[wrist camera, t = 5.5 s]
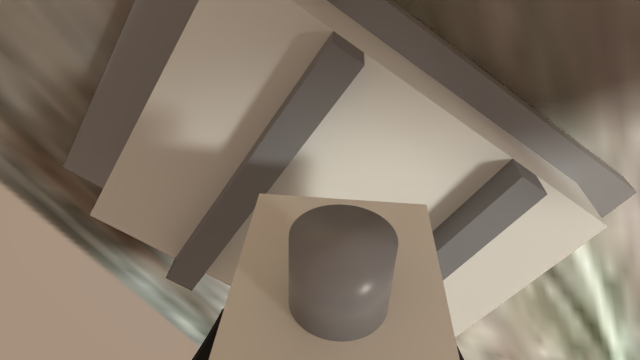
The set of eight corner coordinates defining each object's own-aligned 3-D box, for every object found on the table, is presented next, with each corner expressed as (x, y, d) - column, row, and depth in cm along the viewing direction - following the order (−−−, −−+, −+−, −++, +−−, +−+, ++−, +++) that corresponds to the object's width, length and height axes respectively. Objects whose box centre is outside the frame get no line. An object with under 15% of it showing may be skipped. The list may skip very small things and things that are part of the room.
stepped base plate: (623, 177, 18) (694, 257, 14) (417, 337, 24) (428, 424, 20) (206, -142, 13) (147, -148, 9) (75, 154, 19) (6, 223, 15)
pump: (437, 149, 10) (492, 335, 6) (395, 362, 14) (411, 561, 10) (257, 137, 10) (191, 312, 6) (265, 352, 15) (229, 545, 10)
